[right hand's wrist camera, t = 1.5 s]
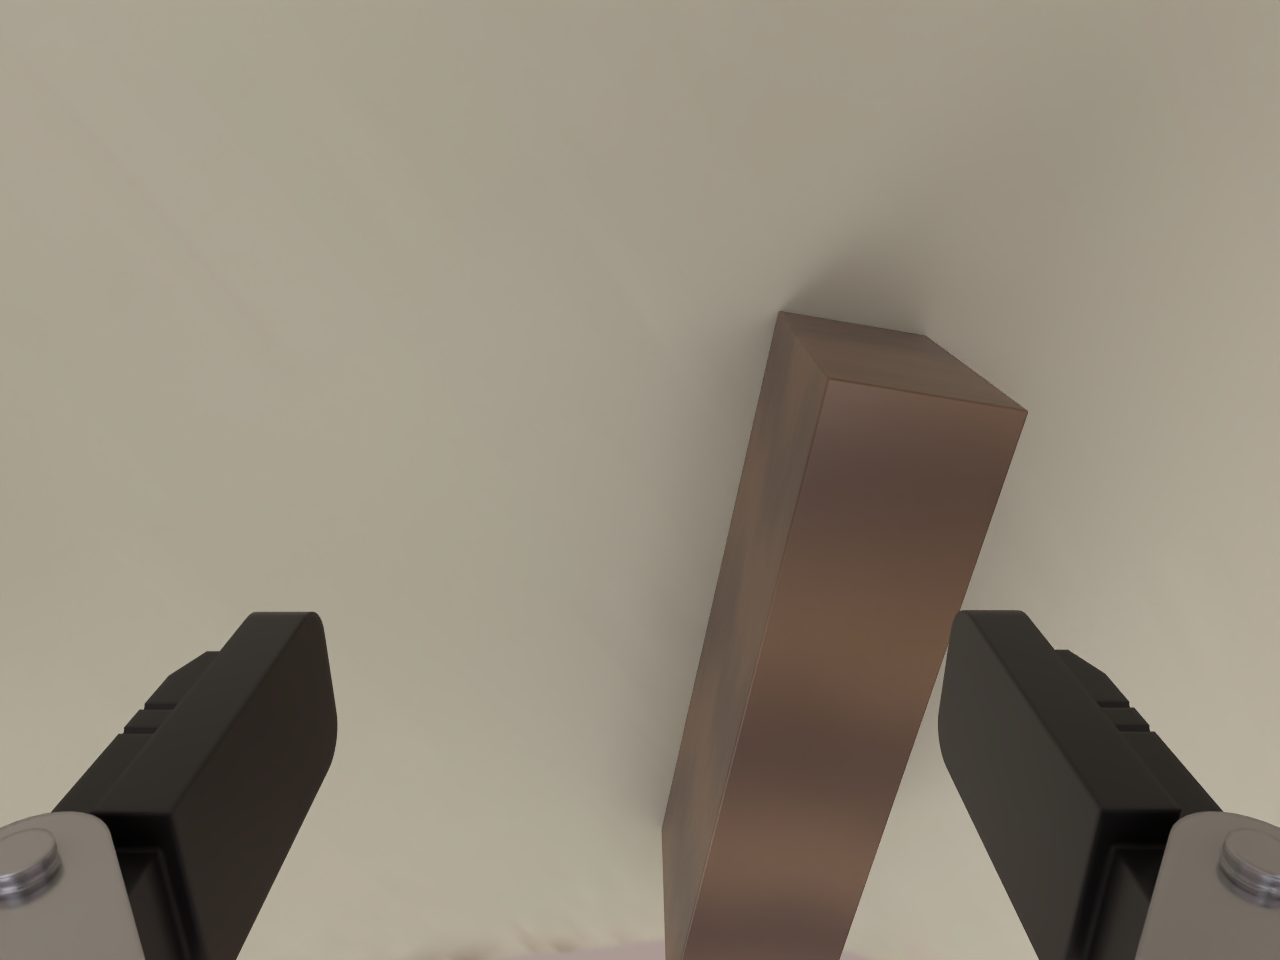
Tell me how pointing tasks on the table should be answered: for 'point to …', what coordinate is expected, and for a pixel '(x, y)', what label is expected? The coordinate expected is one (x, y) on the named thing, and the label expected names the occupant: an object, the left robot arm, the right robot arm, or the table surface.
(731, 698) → the bar
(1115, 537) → the table surface
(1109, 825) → the right robot arm
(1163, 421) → the table surface
